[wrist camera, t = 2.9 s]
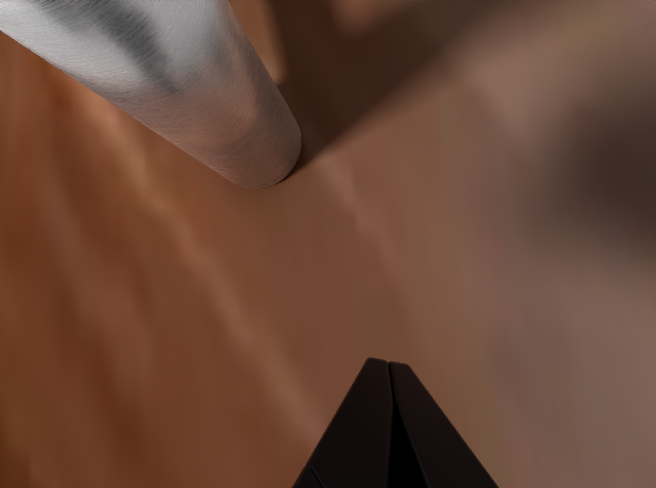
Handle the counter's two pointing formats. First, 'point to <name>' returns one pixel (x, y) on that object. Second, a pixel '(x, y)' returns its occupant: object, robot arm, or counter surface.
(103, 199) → the counter surface
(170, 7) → the silver jar
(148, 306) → the counter surface
